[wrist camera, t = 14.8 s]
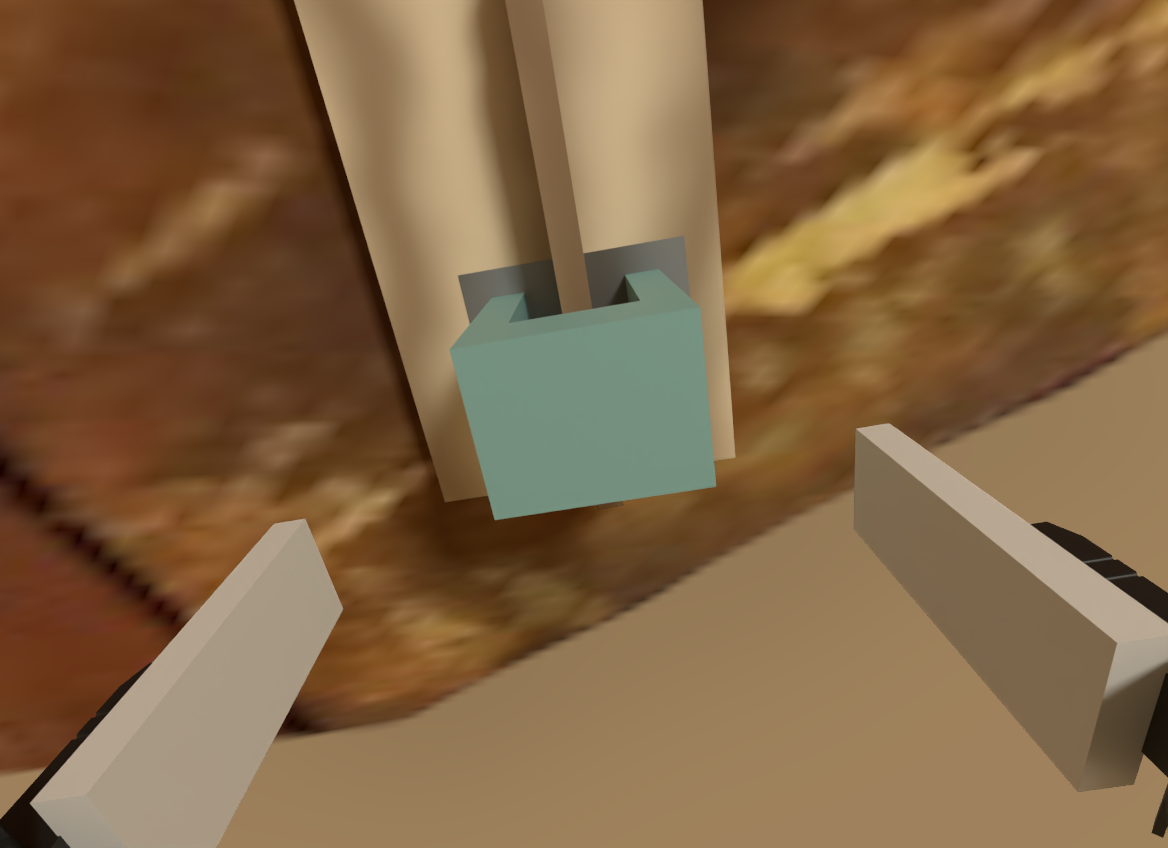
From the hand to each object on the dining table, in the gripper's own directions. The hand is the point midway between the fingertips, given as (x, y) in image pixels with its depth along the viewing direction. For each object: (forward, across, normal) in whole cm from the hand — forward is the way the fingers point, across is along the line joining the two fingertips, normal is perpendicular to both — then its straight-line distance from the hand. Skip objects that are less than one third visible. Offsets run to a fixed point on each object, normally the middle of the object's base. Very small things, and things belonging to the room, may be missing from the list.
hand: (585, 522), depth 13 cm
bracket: (+14, +1, 0) cm, 14 cm away
